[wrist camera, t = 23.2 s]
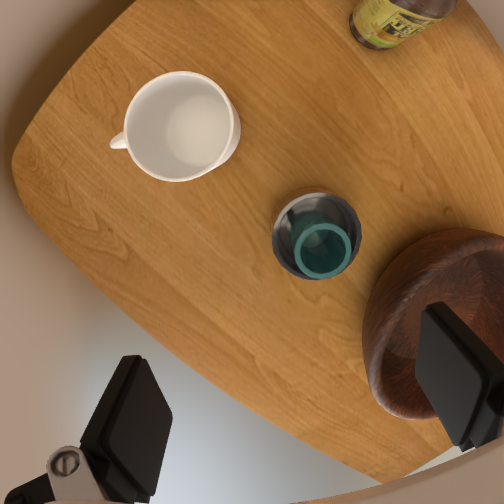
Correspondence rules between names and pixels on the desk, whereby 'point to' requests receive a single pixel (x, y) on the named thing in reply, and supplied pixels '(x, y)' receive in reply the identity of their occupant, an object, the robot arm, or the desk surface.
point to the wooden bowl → (414, 302)
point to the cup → (318, 242)
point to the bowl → (323, 200)
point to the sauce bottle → (395, 20)
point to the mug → (179, 127)
